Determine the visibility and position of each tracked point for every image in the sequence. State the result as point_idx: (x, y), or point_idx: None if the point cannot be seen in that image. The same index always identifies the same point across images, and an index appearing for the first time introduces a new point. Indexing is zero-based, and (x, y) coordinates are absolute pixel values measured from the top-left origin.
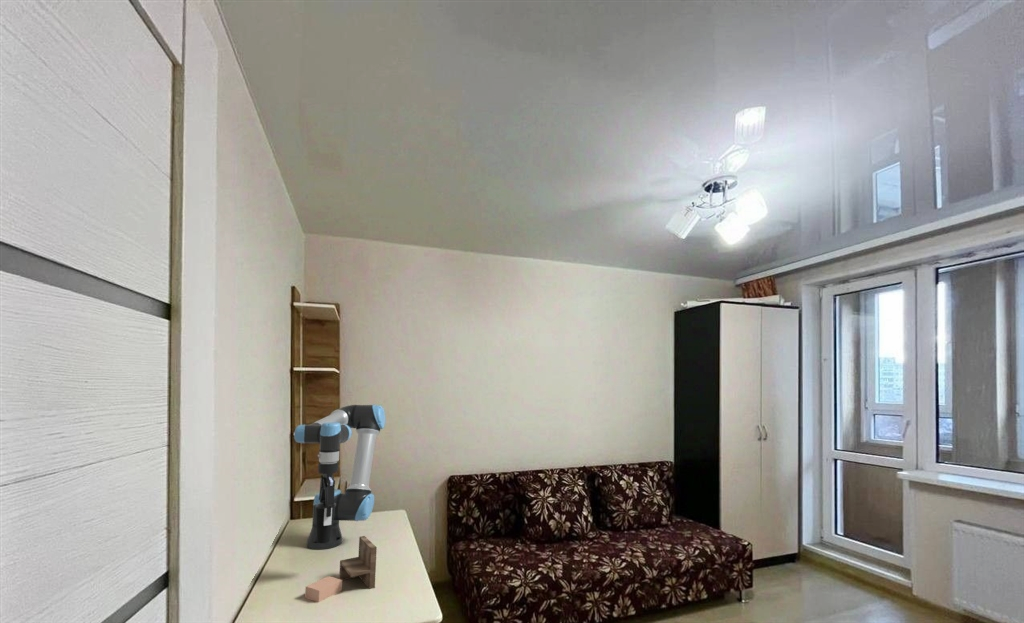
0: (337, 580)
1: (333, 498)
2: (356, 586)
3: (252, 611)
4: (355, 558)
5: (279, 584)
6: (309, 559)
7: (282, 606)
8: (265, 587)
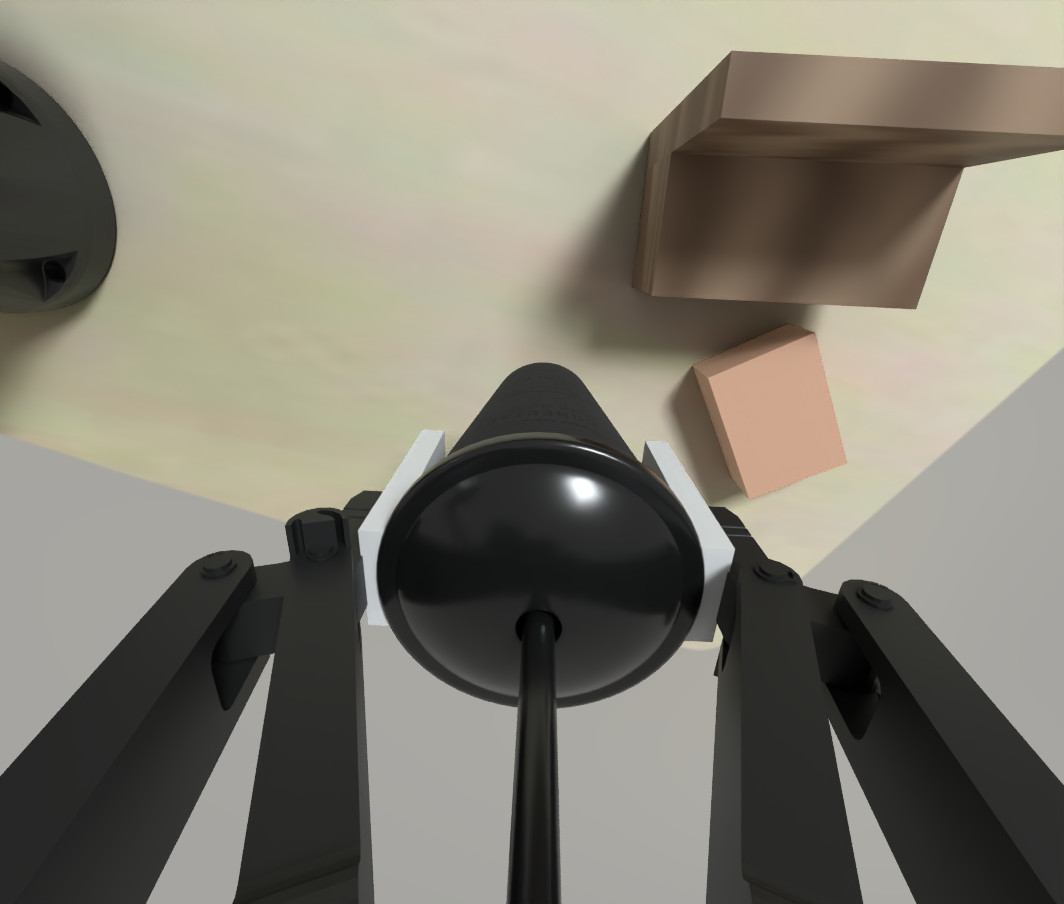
0: (800, 356)
1: (990, 720)
2: None
3: None
4: (687, 186)
5: None
6: (267, 350)
7: None
8: None
